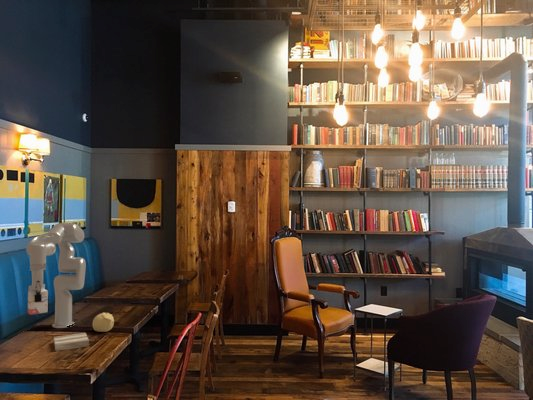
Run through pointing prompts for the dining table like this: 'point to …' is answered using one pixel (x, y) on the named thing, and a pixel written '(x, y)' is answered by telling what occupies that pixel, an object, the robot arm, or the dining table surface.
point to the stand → (71, 341)
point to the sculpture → (103, 322)
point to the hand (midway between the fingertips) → (37, 300)
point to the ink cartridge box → (37, 306)
